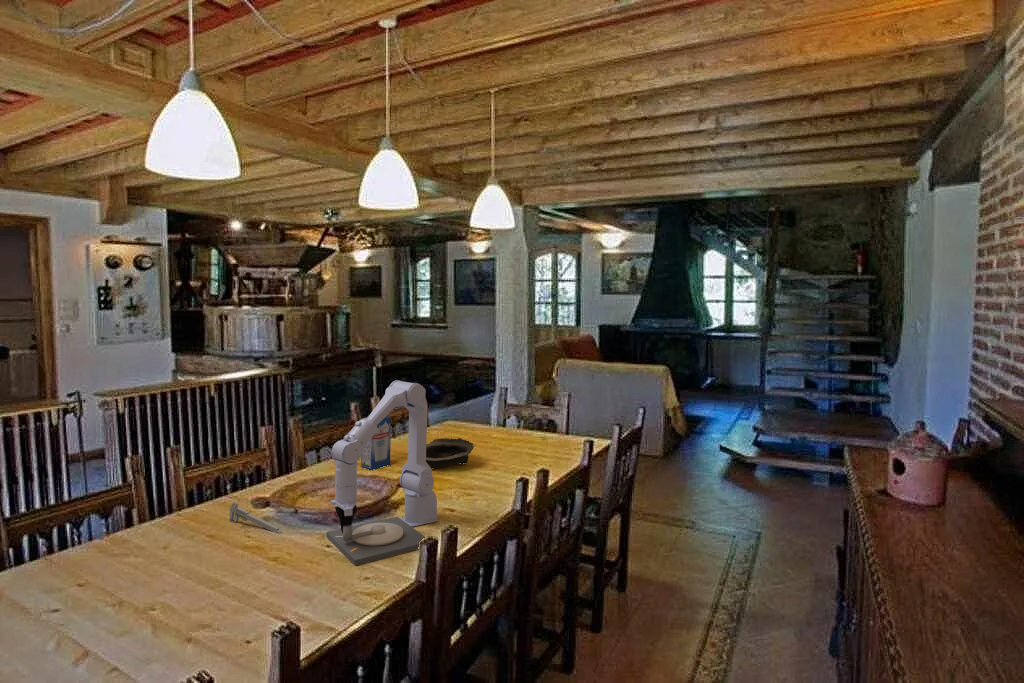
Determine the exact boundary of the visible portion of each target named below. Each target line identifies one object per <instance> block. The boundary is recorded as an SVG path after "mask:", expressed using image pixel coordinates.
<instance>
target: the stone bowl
mask: <svg viewBox="0 0 1024 683" xmlns="http://www.w3.org/2000/svg"><path fill="white" fill-rule="evenodd" d="M474 448H475V444H474V443H473V442H470V440H467V439H463V438H461V437H459V438H447V437H444V438H443V437H442V438H435V439H433V440H432V441H430V442H429V443H426V463H427V464H428V465H429V466H430V468H435V469H441V468H446V467H450V466H454V465H455V466H456V465H458V464H459V463H461V464H463V463H467V464H468V460H469V455H471V453H472V451H473V450H474ZM461 464H459V465H461Z"/></svg>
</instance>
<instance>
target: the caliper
mask: <svg viewBox="0 0 1024 683" xmlns="http://www.w3.org/2000/svg"><path fill="white" fill-rule="evenodd" d="M229 506H230V507H229V521H230V522H233V523H234V524H235V523H237V522H239V519H241V520H243V521H244V522H246V521H250V522H251V523H253V524H256V525H258V526H260V527H261V528H264V529H266V530H268V531H270V532H272V533H277V534H281V533H283V531H282V530H281V529H280V527H278V526H277V525H274V524H272V523H270V522H267V521H266V520H263V519H262V518H260V517H257V516H256V515H253V514H252V513H250V511H248V510H245V508H242V507H240V506H239V503H237V502H236V501H233V502H232V503H231V505H229Z"/></svg>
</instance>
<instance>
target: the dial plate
mask: <svg viewBox="0 0 1024 683" xmlns="http://www.w3.org/2000/svg"><path fill="white" fill-rule="evenodd" d="M400 518H401V517H399V516H394V517H390V518H389V517H388V518H386V519H385V518H384V519H379V520H375V521H369V522H366V523H365V522H364V523H361V524H357V525H352V533H353V531H354V530H355V529H356V528H358V527H360V526H363V525H366V524H371V523H393V524H396V525H399V526H401V527H402V528H403V536H402V538H401V539H399V540H398V541H396V542H393V543H390V544H386V545H377V546H369V545H362V544H359V543H357V542H355V541H354V540H350V541H344V540H343V533H342V531H341V528H338V529H334V530H329V531H326V532H325V533H326V535H325V536H326V538H327V540H328V541H330V542H331V543H332V545H334V546H335V547H336V548H337V549H338V550H339V551H340V552H341V554H343V555H344V557H346V558H347V559H348V560H349V561H350V562H351V563H352V565H353V566H356V567H357V566H359V565H363V564H366V563H367V564H368V563H371V562H375V561H379V560H382V559H386V558H391V557H394V556H398V555H403V554H406V553H409V552H414V551H418V547H419V542H420V541H421V540H422V539H423V538H425V537H426V536H425V535H424V534H422V533H421V532H420V531H418V530H417V529H415V527H411V526H410V525H408V524H407V523H406V522H404V521H403V520H401V519H400Z"/></svg>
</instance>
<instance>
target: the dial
mask: <svg viewBox="0 0 1024 683" xmlns="http://www.w3.org/2000/svg"><path fill="white" fill-rule="evenodd" d="M352 526H353V524H352V525H344V526H343V540H344V541H350V540H354V541H355V542H357V543H359V544H362V545H369V546H377V545H386V544H390V543H393V542H396V541H398V540H399V539H401V538H402V536H403V528H402V527H401V526H399V525H396V524H393V523H371V524H366V525H363V526H360V527H358V528H356V529H355V530H354V531H353V533H352Z"/></svg>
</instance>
